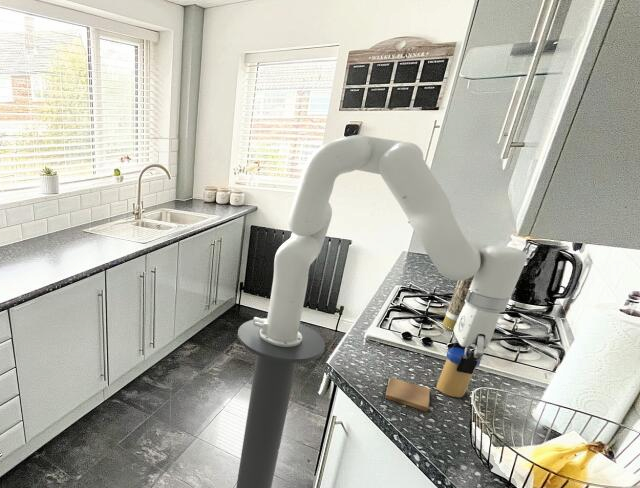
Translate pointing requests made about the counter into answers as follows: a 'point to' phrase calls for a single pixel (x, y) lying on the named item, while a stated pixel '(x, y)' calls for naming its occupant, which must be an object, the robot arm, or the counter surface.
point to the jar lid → (457, 355)
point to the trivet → (408, 394)
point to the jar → (453, 380)
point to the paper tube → (457, 303)
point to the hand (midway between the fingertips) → (460, 364)
